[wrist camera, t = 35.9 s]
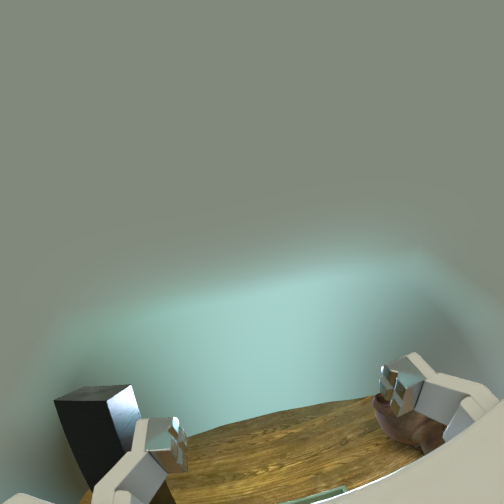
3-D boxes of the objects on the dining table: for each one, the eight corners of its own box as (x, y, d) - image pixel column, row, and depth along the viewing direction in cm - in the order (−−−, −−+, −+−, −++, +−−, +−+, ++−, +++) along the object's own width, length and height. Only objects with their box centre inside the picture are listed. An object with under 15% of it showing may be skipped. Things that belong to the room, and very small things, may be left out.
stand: (192, 571, 20) (106, 400, 27) (143, 567, 20) (53, 400, 26) (197, 542, 29) (131, 384, 36) (153, 540, 28) (83, 386, 35)
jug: (380, 426, 63) (401, 498, 34) (361, 377, 64) (384, 449, 35) (442, 394, 59) (485, 453, 30) (429, 342, 61) (483, 393, 31)
